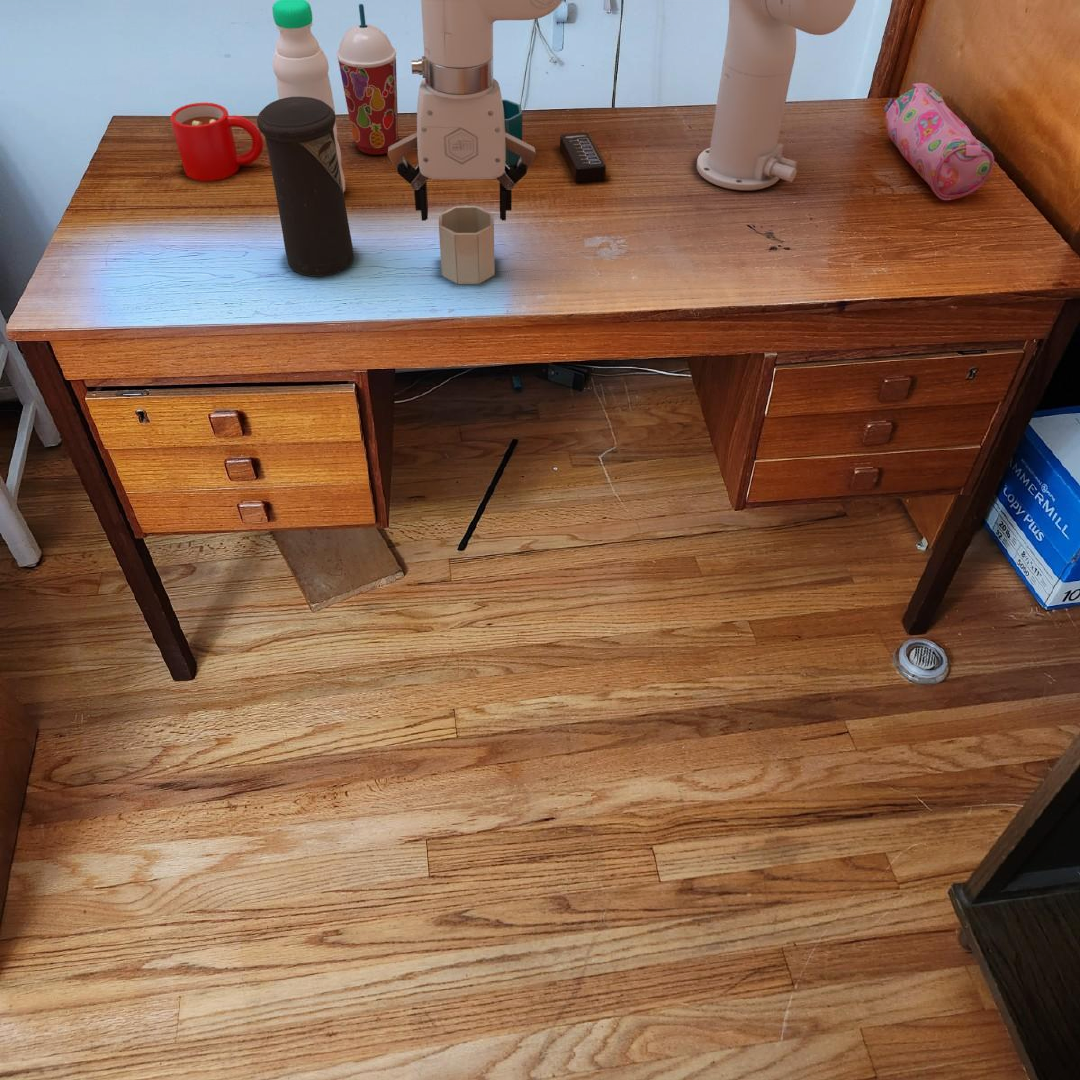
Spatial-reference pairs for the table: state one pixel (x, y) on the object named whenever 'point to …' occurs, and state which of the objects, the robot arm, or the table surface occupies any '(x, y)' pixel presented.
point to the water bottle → (301, 59)
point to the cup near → (467, 244)
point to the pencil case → (937, 143)
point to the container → (307, 184)
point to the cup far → (512, 127)
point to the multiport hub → (582, 158)
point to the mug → (211, 141)
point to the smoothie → (370, 86)
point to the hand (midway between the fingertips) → (463, 215)
